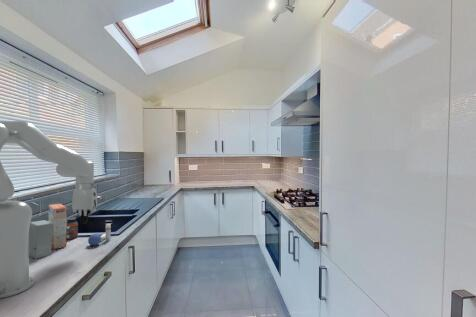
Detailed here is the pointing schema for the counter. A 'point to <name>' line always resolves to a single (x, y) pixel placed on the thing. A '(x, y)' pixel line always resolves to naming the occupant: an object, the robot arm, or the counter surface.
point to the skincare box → (40, 238)
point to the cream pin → (103, 236)
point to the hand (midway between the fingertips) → (84, 223)
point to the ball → (94, 239)
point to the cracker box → (58, 225)
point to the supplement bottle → (71, 229)
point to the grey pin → (108, 232)
